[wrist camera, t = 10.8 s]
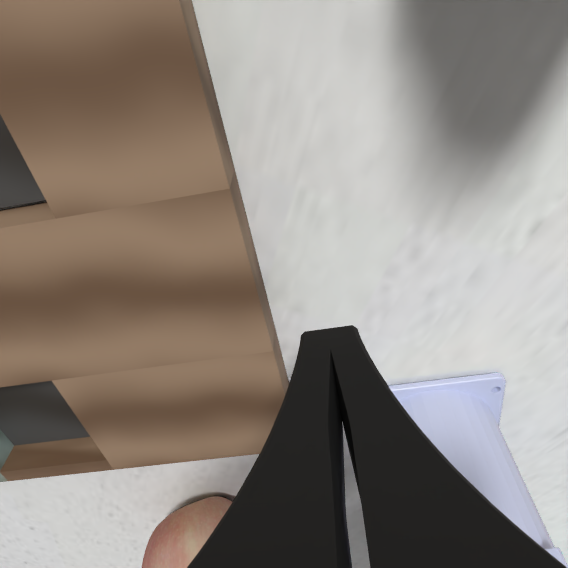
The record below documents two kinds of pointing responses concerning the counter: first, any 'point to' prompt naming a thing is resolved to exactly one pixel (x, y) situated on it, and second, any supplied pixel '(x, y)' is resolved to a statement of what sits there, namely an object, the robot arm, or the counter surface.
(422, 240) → the counter surface
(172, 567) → the apple
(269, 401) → the board
